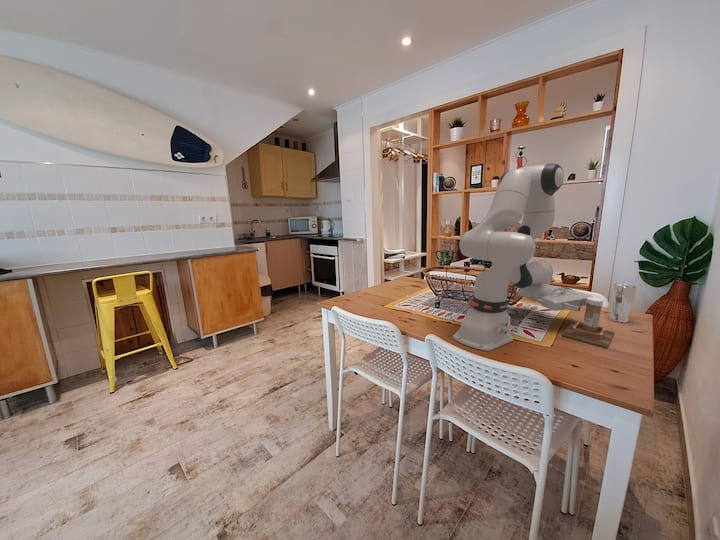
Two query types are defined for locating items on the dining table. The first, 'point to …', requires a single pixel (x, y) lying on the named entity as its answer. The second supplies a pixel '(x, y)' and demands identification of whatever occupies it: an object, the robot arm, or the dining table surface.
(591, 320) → the sprinkles bottle
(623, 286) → the beer glass
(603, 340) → the tube stand
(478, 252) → the robot arm
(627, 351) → the dining table surface
